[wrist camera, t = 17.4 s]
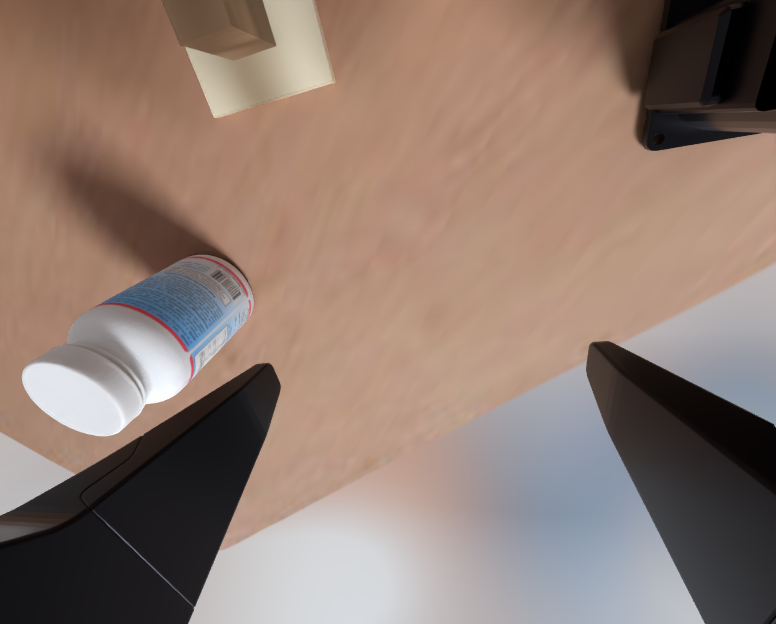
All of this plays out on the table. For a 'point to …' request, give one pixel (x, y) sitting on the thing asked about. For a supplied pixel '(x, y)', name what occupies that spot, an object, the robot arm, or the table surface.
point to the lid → (252, 49)
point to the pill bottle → (140, 345)
